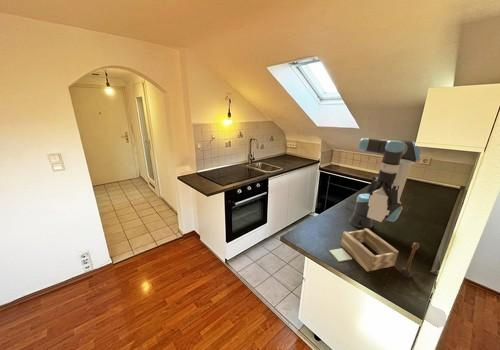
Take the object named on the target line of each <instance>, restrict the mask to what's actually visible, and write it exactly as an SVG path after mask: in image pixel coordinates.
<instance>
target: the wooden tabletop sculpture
mask: <svg viewBox="0 0 500 350" xmlns="http://www.w3.org/2000/svg"><path fill="white" fill-rule="evenodd" d="M419 247H420V243H419V242H413V243H412V245H411V248H412V249H411V252H410V255H409V257H408V260H407V261H406V264H405V266H404V267H403V268H401V269H400V270H399V274H400V275H401V276H402V277H403V278H406V279H410V278H411V277H412V272H411V266H412V261H413V259H414V256H415V254H416V251H417V250H418V249H419Z"/></svg>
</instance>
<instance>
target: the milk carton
mask: <svg viewBox="0 0 500 350" xmlns="http://www.w3.org/2000/svg"><path fill="white" fill-rule="evenodd" d="M383 188H384V186H383V187H382V188H379V189H377V190H375V191H374V192H373V194H372V198H371V202H370V206H369V210H368V214H367V217H368V218H371V219H372V220H374V221H377V222H378V223H379V222H380V223H382V222H383V221H384V220H385V219H384V218H385V216H384V215H383V213H384V210H385V206H386V204H388V202H387V200H388V196H386V195H387V194H386V192H385V190H384V189H383ZM387 190H389V189H387Z"/></svg>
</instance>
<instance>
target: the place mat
mask: <svg viewBox="0 0 500 350" xmlns="http://www.w3.org/2000/svg"><path fill="white" fill-rule="evenodd" d="M328 251H329V253H330V254H331V255H332V256H333V258H335V260H337V262H338V263H339V262H345V261H351V260H353V257H352V256H351V255H350V254H349V253H348V252H347V251H346V250H345V249H344V248H343V247H340V248H336V249H331V250H330V249H329V250H328Z"/></svg>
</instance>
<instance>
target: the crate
mask: <svg viewBox="0 0 500 350" xmlns="http://www.w3.org/2000/svg"><path fill="white" fill-rule="evenodd" d="M362 243H364V244H366V246H367V247H369V249H370V248H371V250H372V251H374V252H375V253H376V255H375V254H374V253H373V252H371V251H370V250H369V249H368V248H367V247H365V246H364V244H362ZM340 246H341V248H343V249H344V250H345V252H346V253H347V254H348V255H349V256H350V257H351V258H352V259H354V261H356V262H357V263H358V264H359V265H360V266H361V267H362V268H363V269H364V270H365V271H366V272H371V271H376V270H381V269H385V268H391V267H394V266H395V263H396V261H397V259H398V256H399V253H400V252H399V250H397V249H396V248H395V247H394V246H392V245H391V244H389V243H388V242H387V241H385V240H384V239H382V237H380V236H379V235H377V234H376V233H374V232H373V231H372V230H371V229H368V228H366V229H360V230H354V231H343V233H342V235H341V241H340Z"/></svg>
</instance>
